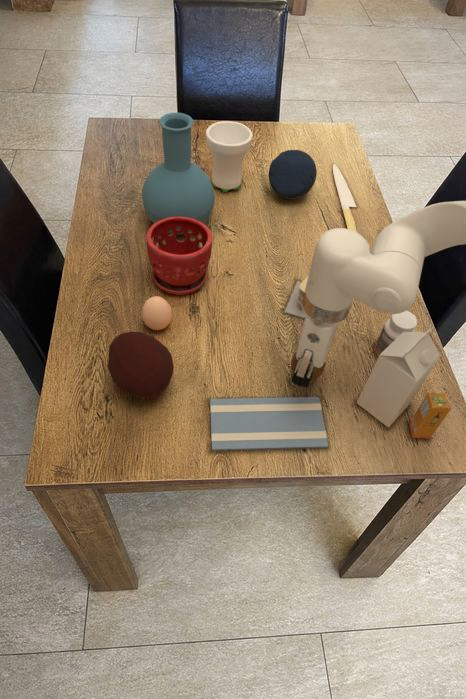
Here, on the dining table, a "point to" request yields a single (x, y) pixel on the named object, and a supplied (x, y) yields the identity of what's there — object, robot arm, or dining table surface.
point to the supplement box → (429, 415)
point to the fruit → (316, 371)
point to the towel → (267, 423)
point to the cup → (228, 152)
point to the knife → (344, 197)
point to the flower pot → (179, 254)
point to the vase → (177, 177)
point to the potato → (140, 364)
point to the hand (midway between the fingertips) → (307, 365)
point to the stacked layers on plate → (297, 299)
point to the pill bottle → (395, 329)
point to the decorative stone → (292, 174)
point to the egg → (156, 313)
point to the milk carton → (398, 376)
